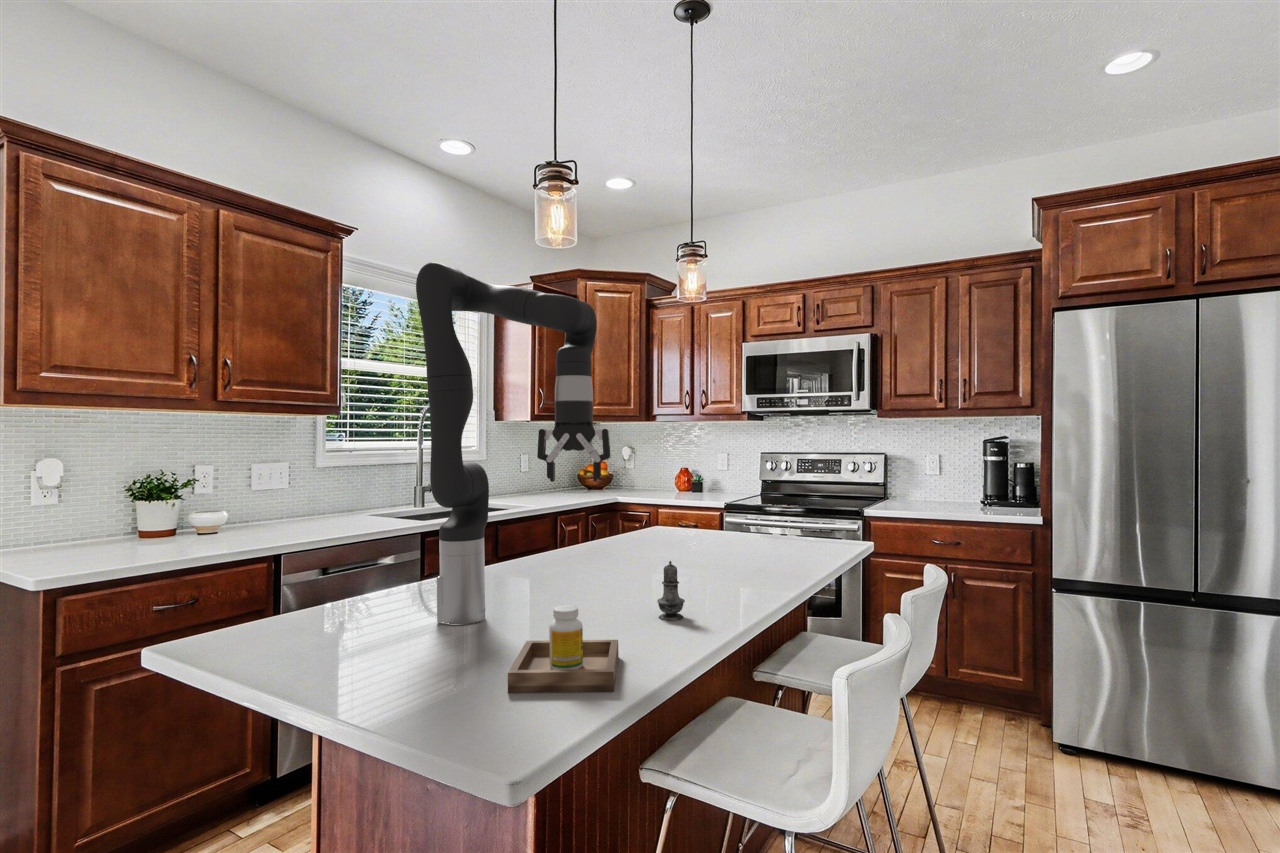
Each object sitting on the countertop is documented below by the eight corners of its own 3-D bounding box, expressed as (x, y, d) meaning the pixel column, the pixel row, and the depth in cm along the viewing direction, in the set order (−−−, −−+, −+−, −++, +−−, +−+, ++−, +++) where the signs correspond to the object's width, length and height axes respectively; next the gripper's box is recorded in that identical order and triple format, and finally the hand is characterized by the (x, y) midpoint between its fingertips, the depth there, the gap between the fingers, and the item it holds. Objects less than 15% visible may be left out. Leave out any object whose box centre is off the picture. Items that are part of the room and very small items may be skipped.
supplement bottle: (545, 664, 112) (544, 606, 112) (576, 659, 114) (575, 602, 114) (556, 675, 107) (555, 613, 107) (588, 669, 110) (587, 609, 110)
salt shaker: (685, 621, 140) (684, 563, 141) (657, 621, 141) (656, 563, 141) (684, 613, 146) (683, 557, 146) (657, 614, 146) (656, 558, 147)
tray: (507, 692, 103) (507, 672, 103) (526, 657, 119) (526, 640, 119) (613, 691, 103) (613, 671, 103) (618, 656, 119) (618, 639, 119)
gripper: (534, 399, 131) (535, 483, 131) (608, 398, 131) (608, 482, 131) (541, 400, 139) (541, 480, 139) (611, 400, 139) (611, 480, 139)
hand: (574, 481), depth 135 cm, fingers open, 8 cm apart
